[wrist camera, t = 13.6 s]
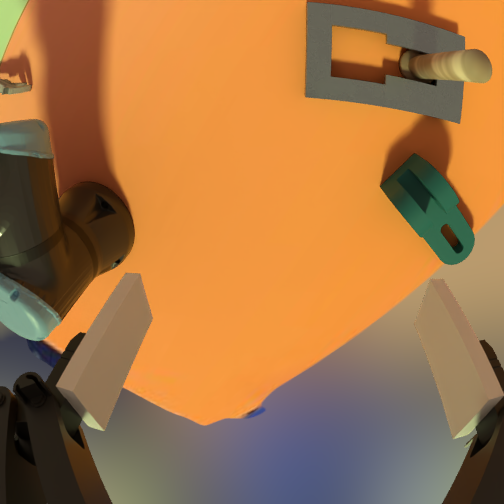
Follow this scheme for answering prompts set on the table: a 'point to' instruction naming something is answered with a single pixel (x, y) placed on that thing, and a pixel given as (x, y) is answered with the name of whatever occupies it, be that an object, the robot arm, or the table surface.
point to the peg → (446, 66)
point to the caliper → (13, 87)
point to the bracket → (430, 208)
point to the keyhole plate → (394, 88)
